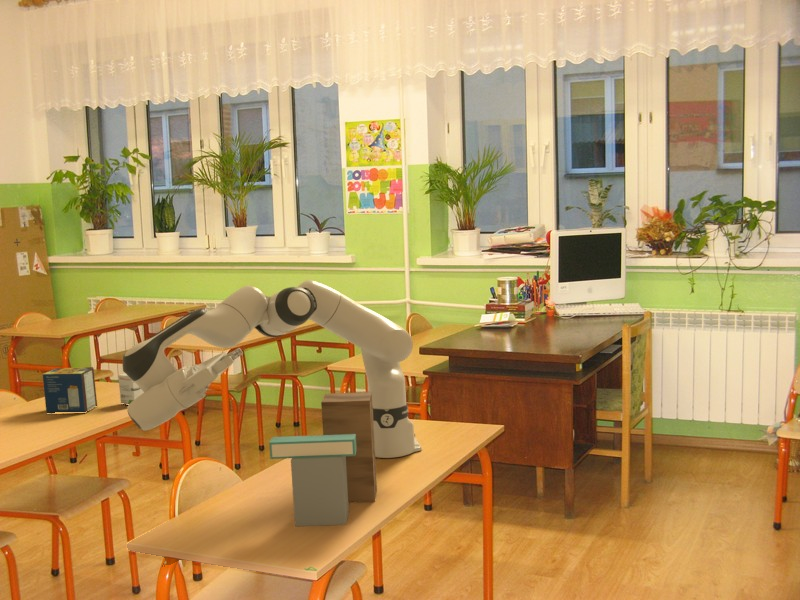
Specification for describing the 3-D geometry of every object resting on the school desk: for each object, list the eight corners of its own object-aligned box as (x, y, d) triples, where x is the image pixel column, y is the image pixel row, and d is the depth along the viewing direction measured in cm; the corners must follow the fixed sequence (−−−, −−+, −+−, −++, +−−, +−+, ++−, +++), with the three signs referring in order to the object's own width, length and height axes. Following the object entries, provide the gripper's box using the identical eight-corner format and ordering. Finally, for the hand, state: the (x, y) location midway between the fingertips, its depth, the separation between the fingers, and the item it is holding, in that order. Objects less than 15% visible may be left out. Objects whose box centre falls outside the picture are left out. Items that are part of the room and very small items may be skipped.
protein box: (59, 407, 338) (55, 367, 336) (97, 406, 337) (94, 366, 335) (45, 415, 328) (41, 373, 326) (85, 414, 326) (81, 372, 324)
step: (299, 513, 217) (295, 450, 215) (348, 512, 216) (345, 448, 214) (295, 526, 209) (290, 460, 207) (345, 524, 208) (342, 458, 206)
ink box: (145, 404, 337) (142, 374, 335) (134, 407, 333) (131, 376, 331) (131, 402, 342) (128, 372, 341) (120, 404, 338) (117, 374, 337)
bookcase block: (331, 490, 232) (325, 393, 228) (377, 489, 231) (371, 391, 228) (327, 503, 223) (321, 402, 220) (374, 501, 222) (369, 400, 219)
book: (273, 453, 213) (272, 437, 213) (356, 450, 212) (355, 433, 212) (270, 459, 209) (269, 442, 208) (355, 456, 208) (354, 439, 207)
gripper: (168, 384, 201) (219, 351, 199) (192, 365, 221) (238, 336, 220) (184, 407, 201) (234, 375, 200) (206, 386, 221) (252, 357, 220)
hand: (236, 354), depth 210 cm, fingers open, 8 cm apart
